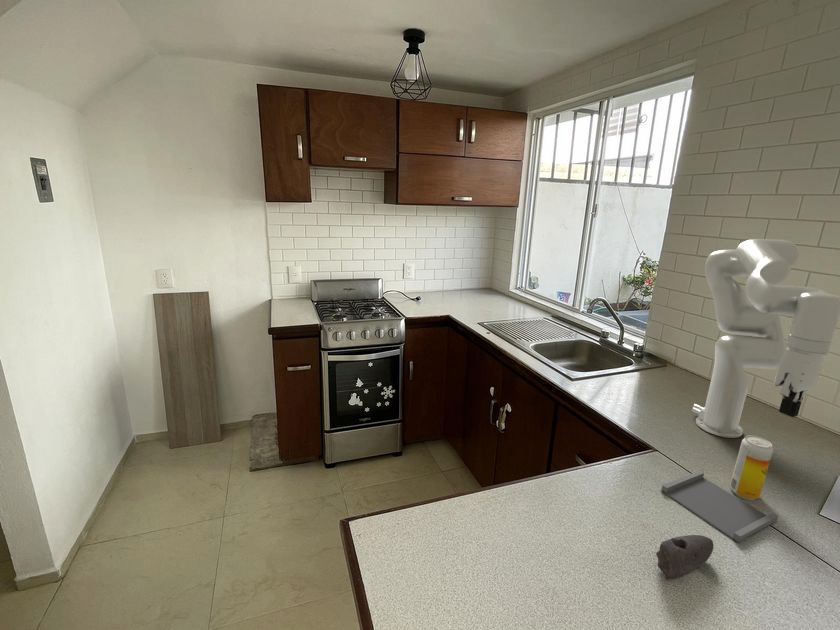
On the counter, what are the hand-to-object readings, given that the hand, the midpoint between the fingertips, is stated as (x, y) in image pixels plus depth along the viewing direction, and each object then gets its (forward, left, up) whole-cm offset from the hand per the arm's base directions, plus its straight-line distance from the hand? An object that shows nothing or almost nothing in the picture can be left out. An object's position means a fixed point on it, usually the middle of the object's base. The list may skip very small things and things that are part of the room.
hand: (788, 413), depth 104 cm
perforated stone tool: (+8, -46, -21) cm, 51 cm away
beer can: (0, -10, -21) cm, 23 cm away
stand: (0, -21, -21) cm, 29 cm away
